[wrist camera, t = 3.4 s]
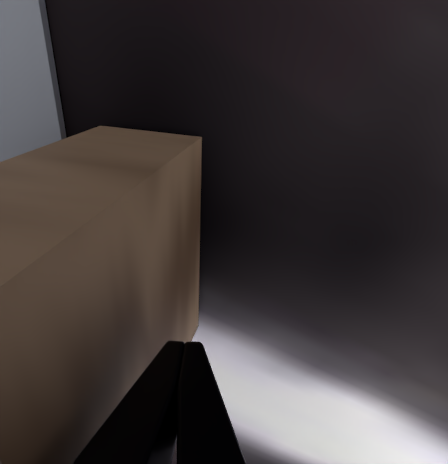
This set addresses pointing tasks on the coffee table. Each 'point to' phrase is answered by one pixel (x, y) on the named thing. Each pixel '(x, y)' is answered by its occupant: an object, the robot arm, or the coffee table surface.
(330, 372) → the coffee table surface
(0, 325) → the brown wooden block
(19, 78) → the rubber mat
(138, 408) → the robot arm
